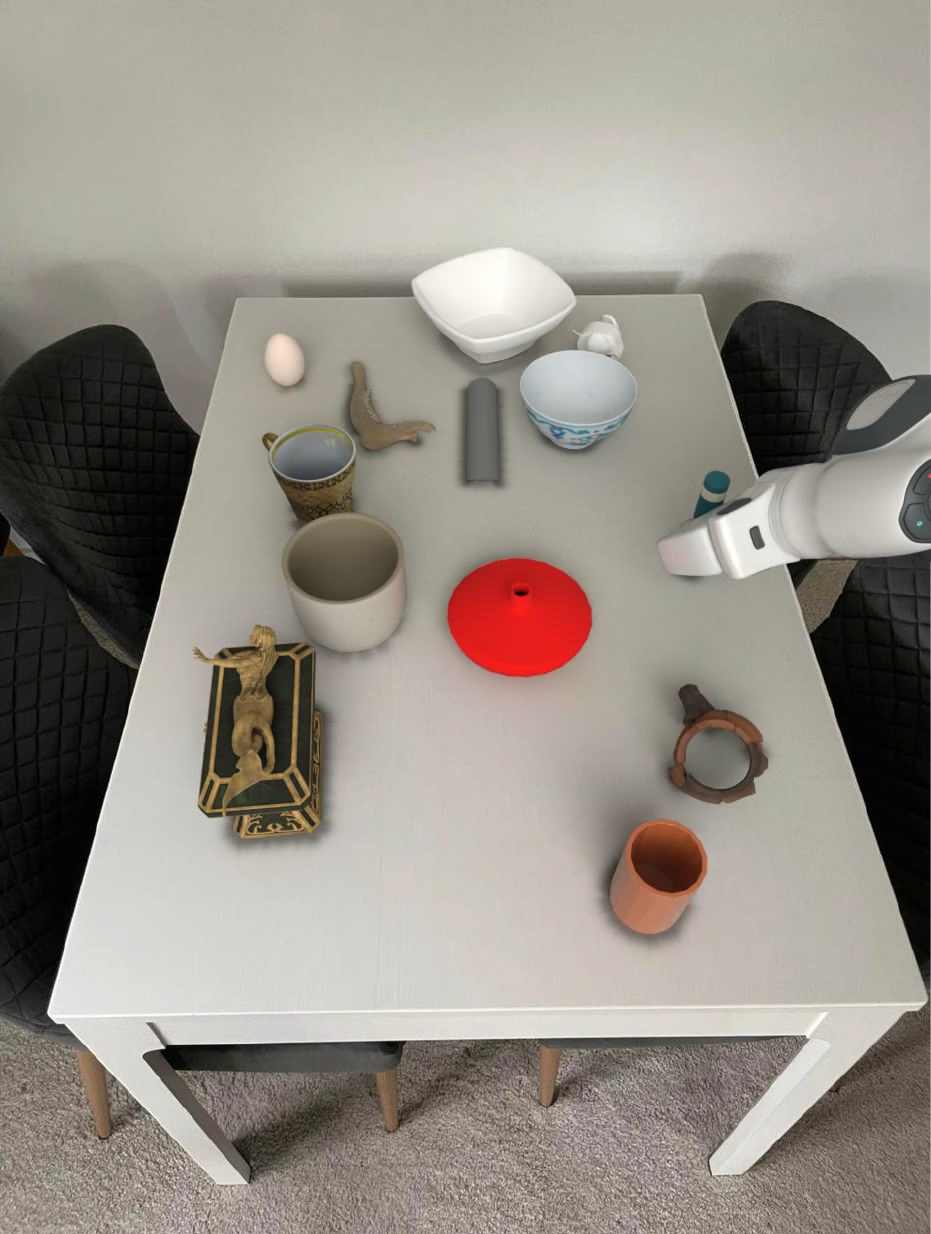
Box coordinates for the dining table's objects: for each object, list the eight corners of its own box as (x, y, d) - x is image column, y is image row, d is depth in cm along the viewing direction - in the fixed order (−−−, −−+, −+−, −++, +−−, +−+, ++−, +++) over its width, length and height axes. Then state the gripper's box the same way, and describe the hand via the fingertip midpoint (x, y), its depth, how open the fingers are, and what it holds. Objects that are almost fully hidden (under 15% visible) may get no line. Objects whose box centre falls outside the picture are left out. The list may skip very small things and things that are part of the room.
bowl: (397, 330, 125) (393, 278, 118) (509, 288, 131) (511, 237, 124) (470, 404, 114) (470, 351, 108) (588, 355, 121) (595, 302, 114)
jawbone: (382, 470, 107) (379, 458, 106) (304, 392, 117) (300, 380, 116) (438, 438, 110) (436, 426, 108) (357, 364, 120) (354, 352, 118)
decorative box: (236, 702, 86) (183, 584, 70) (329, 695, 86) (297, 576, 70) (219, 893, 74) (151, 803, 58) (327, 884, 74) (288, 792, 59)
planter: (361, 560, 97) (351, 494, 89) (433, 620, 92) (429, 556, 83) (276, 619, 92) (256, 555, 83) (347, 686, 87) (333, 626, 78)
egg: (271, 372, 119) (260, 323, 113) (309, 370, 119) (300, 322, 113) (268, 396, 116) (256, 348, 109) (307, 394, 116) (298, 346, 109)
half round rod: (465, 485, 105) (465, 475, 103) (467, 388, 116) (467, 377, 115) (499, 485, 105) (499, 475, 103) (497, 388, 116) (497, 377, 115)
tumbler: (693, 887, 74) (720, 846, 66) (662, 948, 71) (686, 913, 63) (629, 849, 76) (648, 805, 68) (596, 907, 73) (612, 868, 65)
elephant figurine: (614, 379, 118) (620, 343, 113) (562, 365, 120) (566, 329, 115) (629, 353, 121) (635, 317, 116) (578, 339, 123) (582, 304, 118)
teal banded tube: (704, 563, 97) (735, 476, 86) (695, 578, 96) (725, 491, 84) (683, 553, 98) (711, 466, 87) (673, 568, 96) (700, 481, 85)
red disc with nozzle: (461, 566, 97) (461, 525, 91) (595, 584, 95) (603, 544, 89) (434, 677, 88) (431, 639, 82) (581, 700, 86) (589, 663, 80)
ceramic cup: (380, 504, 103) (373, 443, 95) (330, 554, 98) (317, 494, 90) (301, 465, 107) (287, 403, 99) (249, 511, 102) (230, 450, 94)
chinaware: (628, 475, 106) (638, 428, 100) (512, 466, 107) (515, 419, 101) (628, 400, 115) (637, 353, 108) (521, 393, 116) (524, 346, 110)
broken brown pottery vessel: (784, 774, 81) (791, 774, 73) (700, 821, 83) (698, 826, 75) (716, 671, 85) (715, 661, 77) (636, 717, 86) (628, 713, 78)
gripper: (856, 441, 81) (757, 459, 94) (703, 525, 75) (619, 532, 87) (874, 500, 83) (774, 510, 95) (726, 588, 76) (639, 585, 89)
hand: (698, 521), depth 91 cm, fingers closed on teal banded tube, 2 cm apart
